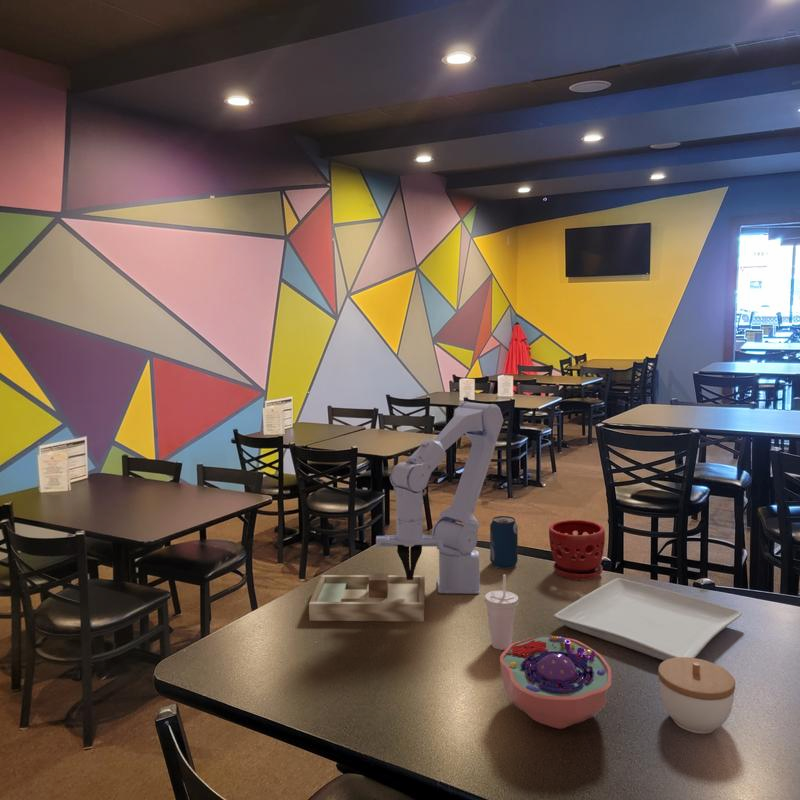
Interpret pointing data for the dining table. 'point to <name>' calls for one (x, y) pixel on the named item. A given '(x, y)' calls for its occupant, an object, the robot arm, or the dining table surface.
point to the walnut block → (378, 585)
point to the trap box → (367, 599)
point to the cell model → (555, 679)
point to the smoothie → (501, 616)
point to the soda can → (503, 542)
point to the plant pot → (577, 548)
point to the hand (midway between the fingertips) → (410, 578)
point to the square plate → (648, 618)
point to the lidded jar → (696, 693)
